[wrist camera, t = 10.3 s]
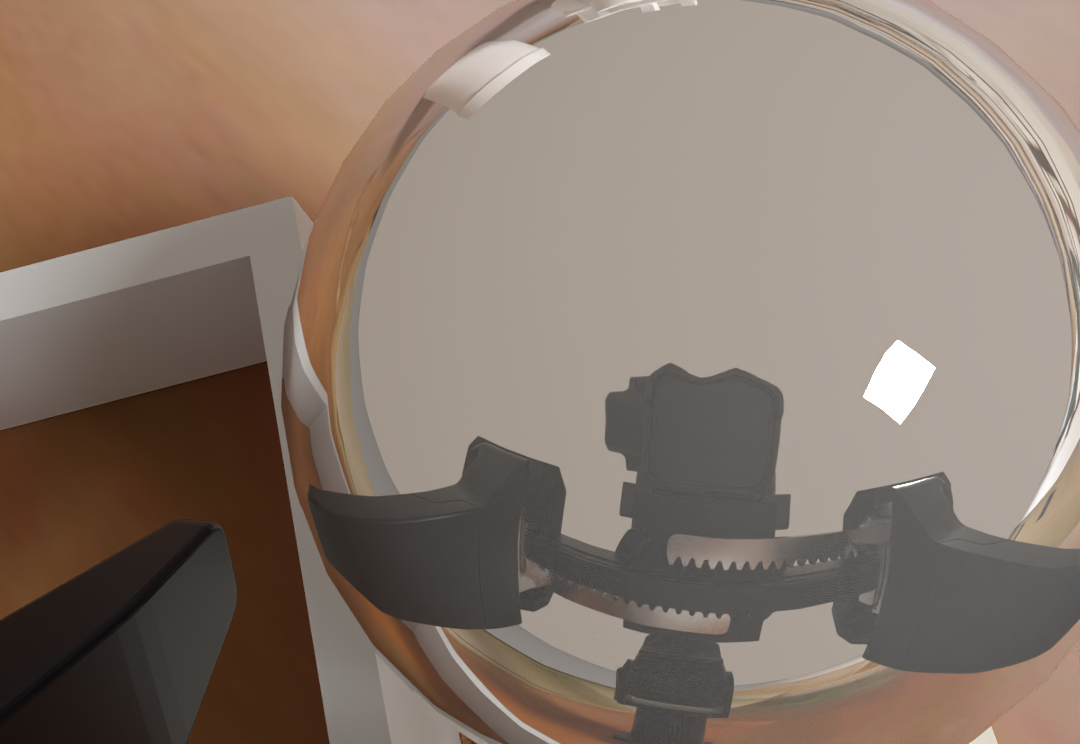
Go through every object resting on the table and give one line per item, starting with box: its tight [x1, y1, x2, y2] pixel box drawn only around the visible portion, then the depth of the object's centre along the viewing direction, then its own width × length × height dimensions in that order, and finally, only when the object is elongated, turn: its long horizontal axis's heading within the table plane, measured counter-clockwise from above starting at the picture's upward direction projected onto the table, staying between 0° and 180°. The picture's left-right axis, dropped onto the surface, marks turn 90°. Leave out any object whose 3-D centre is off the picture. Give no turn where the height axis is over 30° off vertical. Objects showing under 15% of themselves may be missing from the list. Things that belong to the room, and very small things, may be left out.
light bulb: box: [281, 0, 1080, 744], centre depth 10 cm, size 7×7×12 cm
